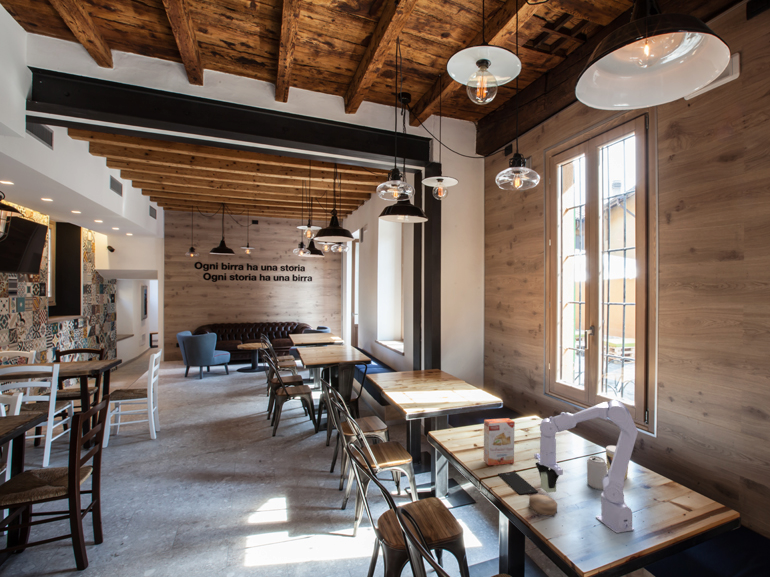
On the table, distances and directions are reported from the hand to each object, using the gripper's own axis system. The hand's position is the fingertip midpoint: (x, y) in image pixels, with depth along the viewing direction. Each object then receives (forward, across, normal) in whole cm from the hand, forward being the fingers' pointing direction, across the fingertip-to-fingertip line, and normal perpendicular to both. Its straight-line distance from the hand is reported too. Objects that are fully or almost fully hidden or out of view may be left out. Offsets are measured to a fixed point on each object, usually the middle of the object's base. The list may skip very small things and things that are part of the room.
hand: (547, 484), depth 145 cm
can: (+9, -9, +31) cm, 34 cm away
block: (+2, 0, 0) cm, 2 cm away
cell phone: (+9, -19, -2) cm, 21 cm away
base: (+8, 0, -2) cm, 9 cm away
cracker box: (+9, -39, +1) cm, 40 cm away
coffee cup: (+9, -15, +48) cm, 51 cm away
